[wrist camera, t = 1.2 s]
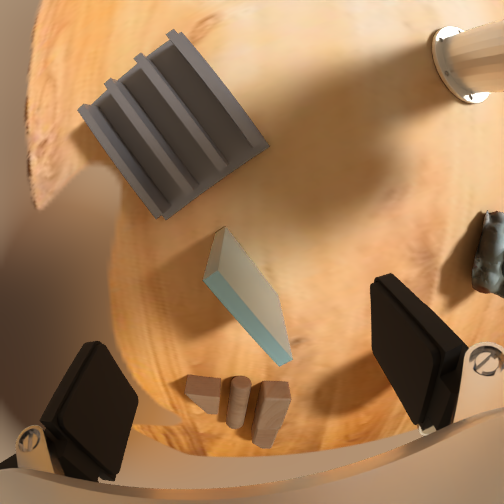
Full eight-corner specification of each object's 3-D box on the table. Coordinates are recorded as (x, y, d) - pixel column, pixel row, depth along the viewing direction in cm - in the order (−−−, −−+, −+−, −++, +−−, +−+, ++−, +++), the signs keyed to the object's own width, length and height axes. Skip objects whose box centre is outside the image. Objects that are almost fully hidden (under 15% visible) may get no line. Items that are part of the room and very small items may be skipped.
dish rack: (183, 34, 27) (174, 19, 22) (269, 146, 32) (273, 147, 28) (89, 110, 29) (69, 108, 25) (167, 218, 35) (157, 230, 30)
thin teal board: (225, 225, 36) (217, 270, 24) (278, 295, 40) (292, 359, 28) (215, 233, 36) (202, 280, 24) (268, 301, 40) (279, 366, 28)
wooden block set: (294, 400, 41) (273, 453, 47) (289, 376, 46) (271, 432, 52) (183, 393, 39) (186, 448, 46) (188, 368, 45) (189, 426, 51)
